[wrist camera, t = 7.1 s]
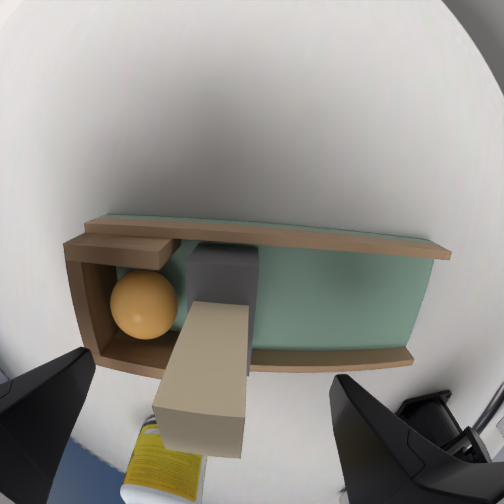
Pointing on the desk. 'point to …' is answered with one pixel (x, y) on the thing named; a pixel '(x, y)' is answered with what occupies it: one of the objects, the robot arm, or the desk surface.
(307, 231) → the pitch
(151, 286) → the ball
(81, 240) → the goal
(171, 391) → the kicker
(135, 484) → the pill bottle
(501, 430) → the game console
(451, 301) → the desk surface
